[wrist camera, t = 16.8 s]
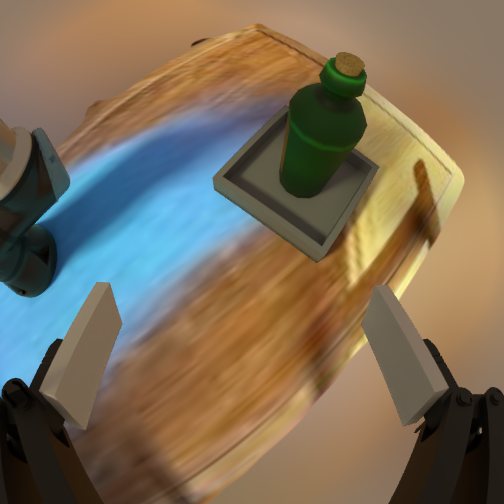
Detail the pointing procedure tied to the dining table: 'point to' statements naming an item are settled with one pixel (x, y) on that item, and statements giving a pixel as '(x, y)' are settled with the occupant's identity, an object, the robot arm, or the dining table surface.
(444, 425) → the robot arm
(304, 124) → the bottle
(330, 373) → the dining table surface
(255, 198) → the tray
